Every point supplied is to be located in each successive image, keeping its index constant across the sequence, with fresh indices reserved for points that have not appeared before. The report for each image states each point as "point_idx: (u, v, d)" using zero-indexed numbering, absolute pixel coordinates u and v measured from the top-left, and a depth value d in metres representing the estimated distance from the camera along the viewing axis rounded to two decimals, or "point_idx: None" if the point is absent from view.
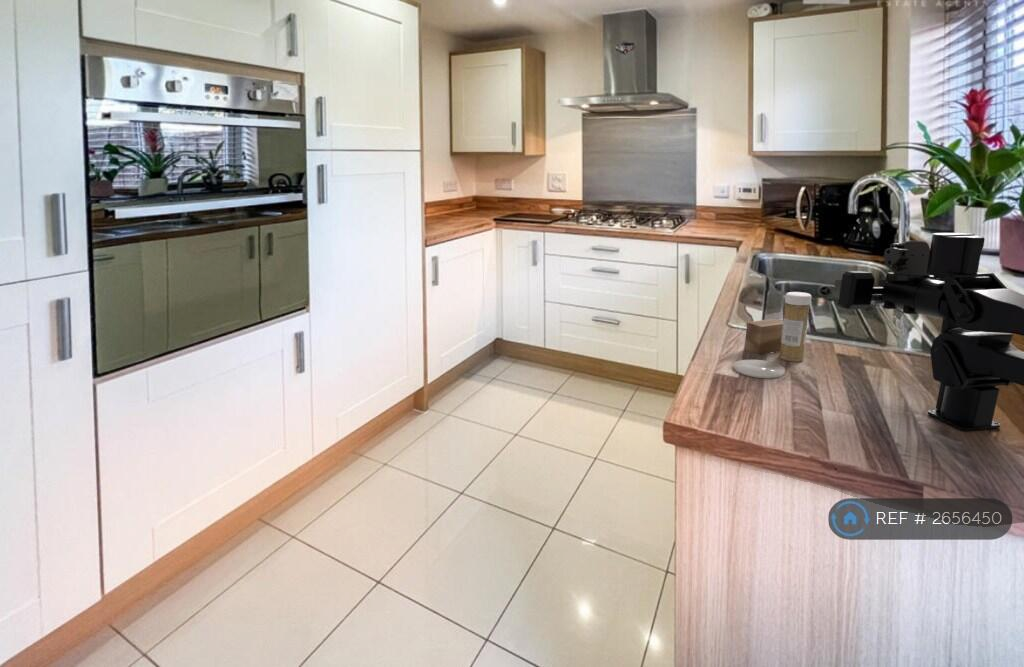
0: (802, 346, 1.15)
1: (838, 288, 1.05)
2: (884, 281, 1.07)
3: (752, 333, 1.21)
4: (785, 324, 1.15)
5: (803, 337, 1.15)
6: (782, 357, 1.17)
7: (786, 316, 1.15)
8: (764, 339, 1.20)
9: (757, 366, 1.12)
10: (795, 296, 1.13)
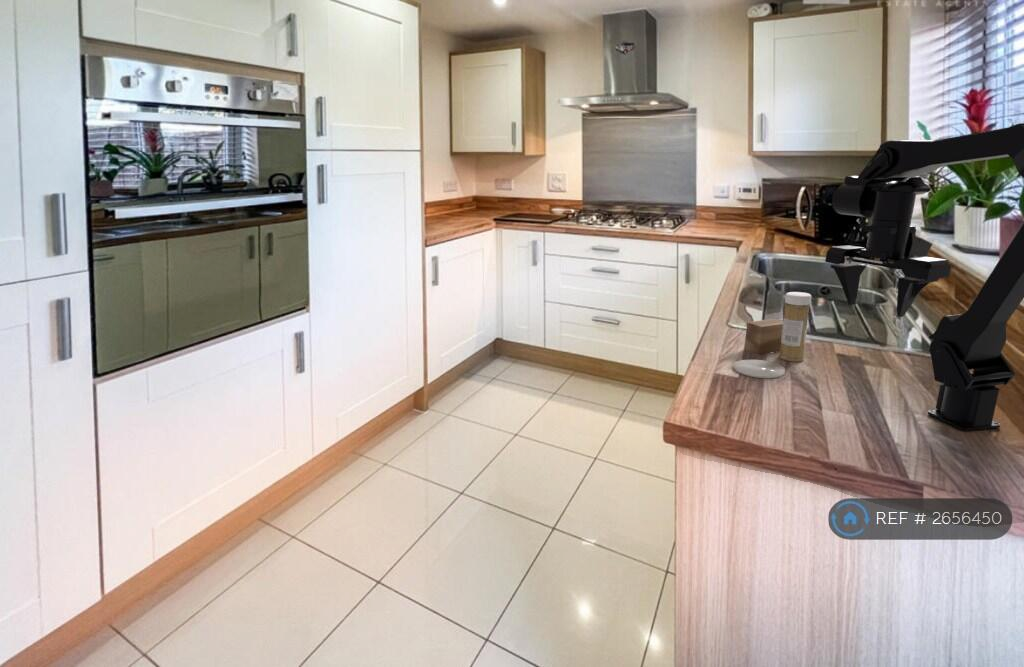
0: (802, 346, 1.15)
1: None
2: None
3: (752, 333, 1.21)
4: (785, 324, 1.15)
5: (803, 337, 1.15)
6: (782, 357, 1.17)
7: (786, 316, 1.15)
8: (764, 339, 1.20)
9: (757, 366, 1.12)
10: (795, 296, 1.13)
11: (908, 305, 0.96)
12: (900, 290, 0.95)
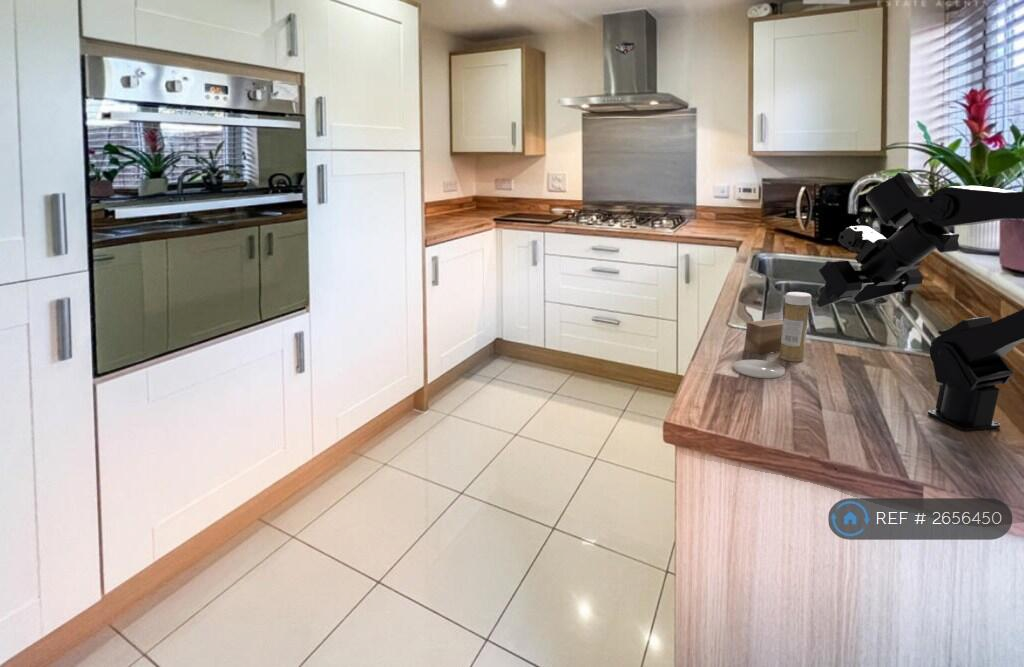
0: (802, 346, 1.15)
1: (824, 302, 1.03)
2: (858, 295, 1.07)
3: (752, 333, 1.21)
4: (785, 324, 1.15)
5: (803, 337, 1.15)
6: (782, 357, 1.17)
7: (786, 316, 1.15)
8: (764, 339, 1.20)
9: (757, 366, 1.12)
10: (795, 296, 1.13)
11: None
12: (885, 295, 1.03)
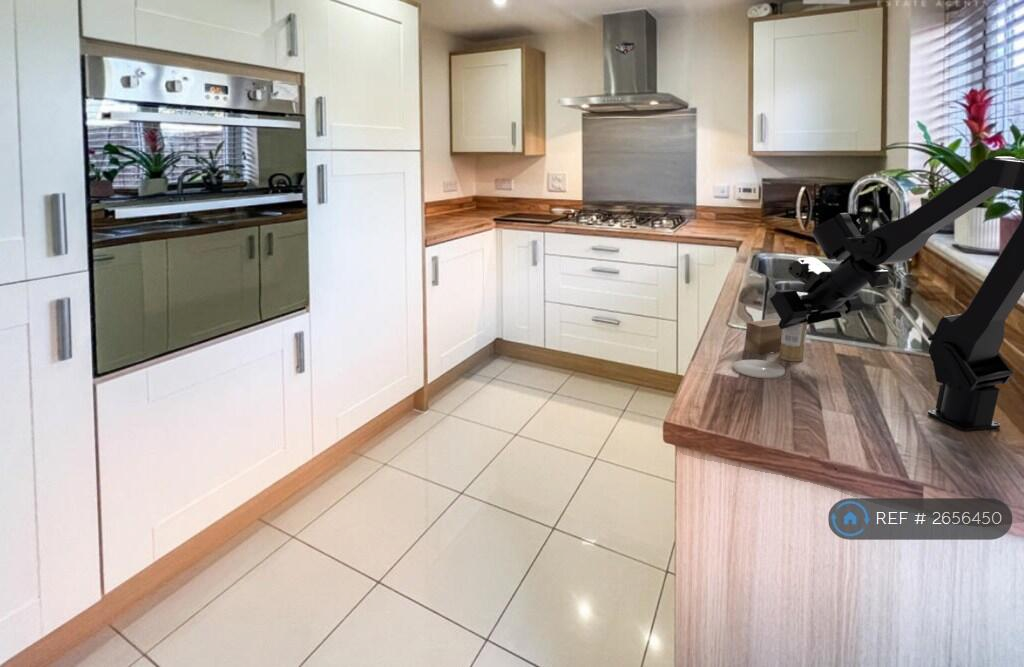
0: (802, 346, 1.15)
1: (785, 325, 1.14)
2: None
3: (752, 333, 1.21)
4: None
5: (803, 337, 1.15)
6: (782, 357, 1.17)
7: None
8: (764, 339, 1.20)
9: (757, 366, 1.12)
10: None
11: None
12: None
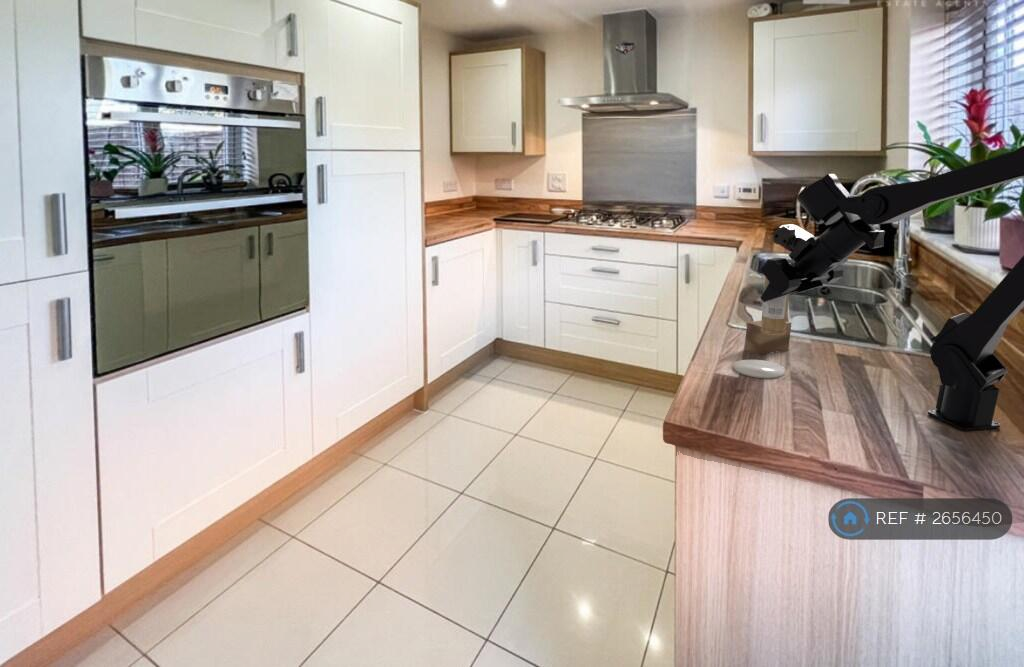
0: (785, 318, 1.10)
1: (769, 297, 1.08)
2: None
3: (752, 333, 1.21)
4: None
5: (786, 309, 1.09)
6: (766, 332, 1.11)
7: None
8: (764, 339, 1.20)
9: (757, 366, 1.12)
10: None
11: None
12: (805, 290, 1.09)
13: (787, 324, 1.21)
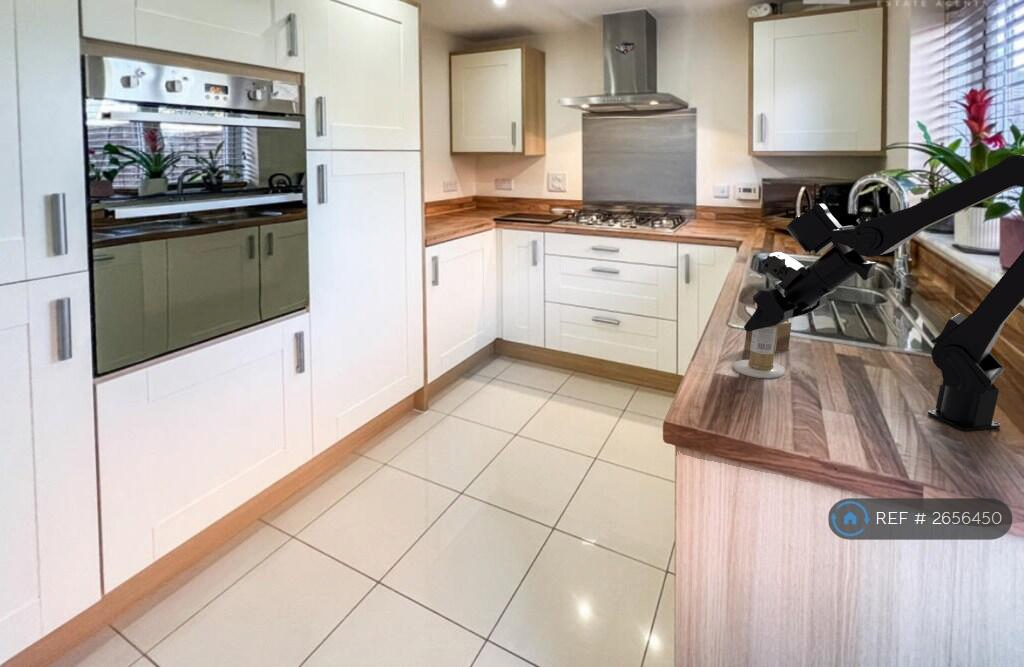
0: (774, 353, 1.09)
1: (753, 327, 1.05)
2: None
3: None
4: (757, 332, 1.08)
5: (775, 344, 1.08)
6: (754, 366, 1.10)
7: None
8: None
9: None
10: None
11: None
12: (795, 316, 1.09)
13: (787, 324, 1.21)
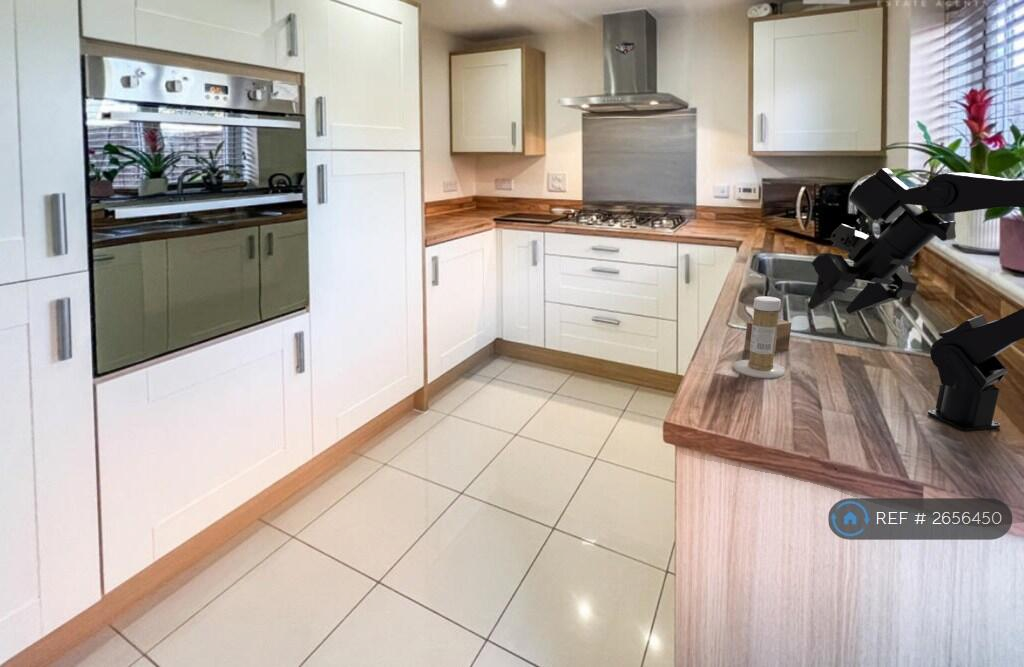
0: (773, 353, 1.09)
1: (816, 302, 0.99)
2: (850, 305, 1.03)
3: None
4: (756, 332, 1.08)
5: (774, 344, 1.08)
6: (754, 367, 1.10)
7: (758, 323, 1.08)
8: None
9: None
10: (768, 301, 1.06)
11: None
12: (878, 303, 1.00)
13: (787, 324, 1.21)
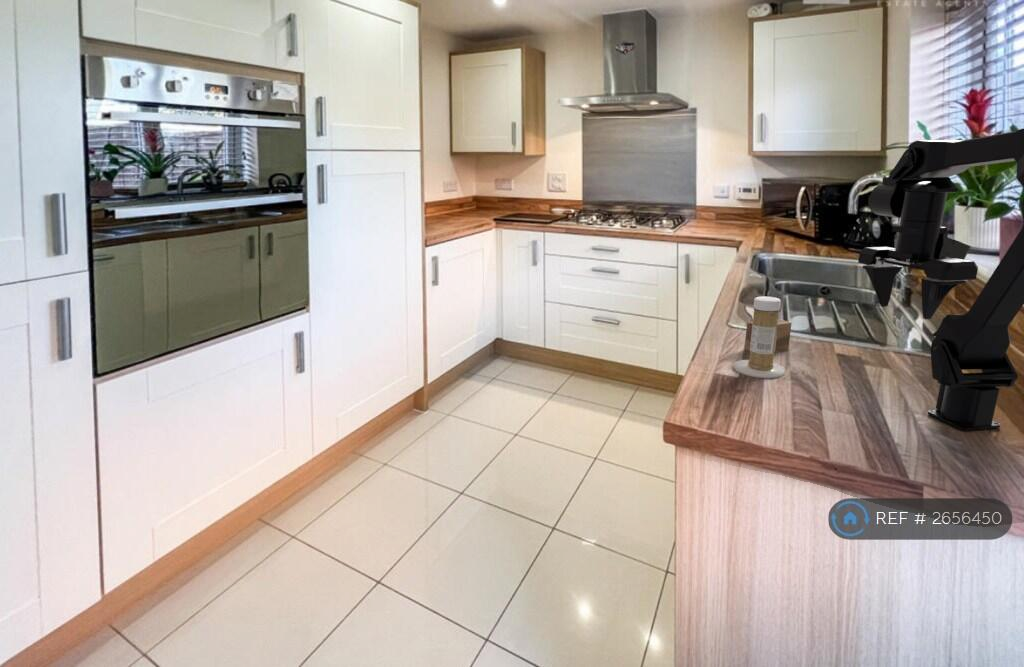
0: (773, 353, 1.09)
1: None
2: None
3: None
4: (756, 332, 1.08)
5: (774, 344, 1.08)
6: (754, 367, 1.10)
7: (758, 323, 1.08)
8: None
9: None
10: (768, 301, 1.06)
11: (934, 307, 0.95)
12: (923, 291, 0.94)
13: (787, 324, 1.21)
